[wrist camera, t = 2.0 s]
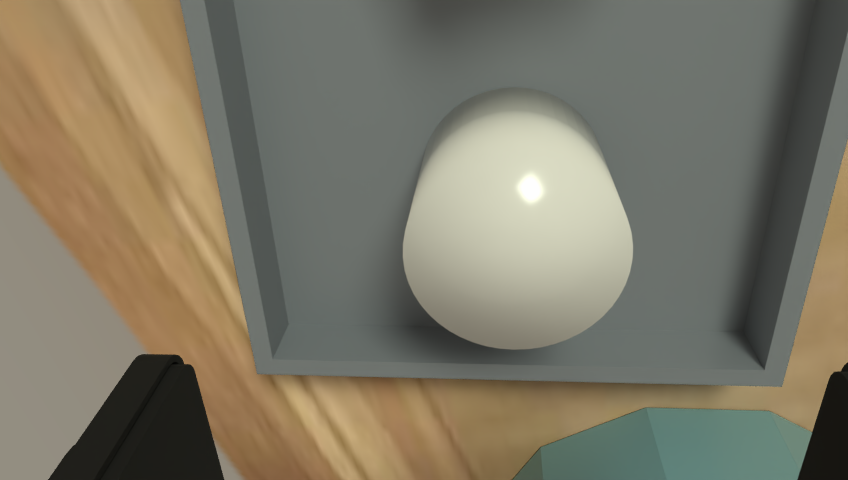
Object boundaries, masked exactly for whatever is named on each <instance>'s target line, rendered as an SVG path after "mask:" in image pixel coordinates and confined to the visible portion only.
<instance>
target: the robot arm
mask: <svg viewBox="0 0 848 480" xmlns="http://www.w3.org/2000/svg"><path fill="white" fill-rule="evenodd" d="M48 480H224V477H223V473H222V470H221V466H220V462H219V459H218V455H217V451H216V448H215V444H214V440H213V437H212V433H211V429H210V426H209V422H208V418H207V415H206V411H205V407H204V404H203V400H202V396H201V393H200V389H199V385H198V382H197V378H196V374H195V371H194V368H193V367H192V366H191V365H189V364H184V362H183V360H182V358H181V357H180V356H179V355H155V354H142V355H139V356H137V357H136V358H135V360H134V361H133V362H132V363H131V365H130V366H129V368H128V369H127V371H126V372H125V374H124V375H123V376H122V378H121V380H120V381H119V382H118V384H117V385H116V387H115V388H114V390H113V391H112V392H111V394H110V395H109V397H108V398H107V400H106V401H105V402H104V404H103V405H102V407H101V409H100V410H99V411H98V413H97V414H96V416H95V417H94V418H93V420H92V421H91V423H90V424H89V426H88V427H87V429H86V430H85V432H84V433H83V434H82V436H81V437H80V439H79V440H78V442H77V443H76V444H75V445H74V446H73V447H72V448H71V449H70V450H69V451H68V453H67V454H66V455H65V456H64V458H63V459H62V461H61V462H60V464H59V465H58V467H57V468H56V469H55V471H54V472H53V474H52V475H51V476H50V478H49V479H48ZM797 480H848V363H846V364H845V365H844V367H843V369H842V371H841V372H834V373H833V374H832V375H831V377H830V379H829V381H828V385H827V388H826V391H825V394H824V397H823V400H822V403H821V407H820V410H819V413H818V416H817V419H816V422H815V425H814V429H813V432H812V435H811V438H810V441H809V444H808V448H807V451H806V454H805V457H804V460H803V463H802V466H801V470H800V473H799V476H798V479H797Z"/></svg>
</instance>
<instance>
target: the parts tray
mask: <svg viewBox="0 0 848 480" xmlns="http://www.w3.org/2000/svg"><path fill="white" fill-rule="evenodd" d="M180 2H181V7H182V12H183V17H184V22H185V27H186V32H187V36H188V41H189V46H190V51H191V56H192V61H193V65H194V70H195V75H196V80H197V85H198V90H199V94H200V99H201V104H202V109H203V114H204V119H205V124H206V128H207V133H208V138H209V143H210V148H211V153H212V157H213V162H214V167H215V172H216V177H217V182H218V186H219V191H220V196H221V201H222V206H223V211H224V216H225V220H226V225H227V230H228V235H229V240H230V245H231V249H232V254H233V259H234V264H235V269H236V274H237V279H238V283H239V288H240V293H241V298H242V303H243V308H244V312H245V317H246V322H247V327H248V332H249V337H250V341H251V346H252V351H253V356H254V361H255V366H256V371H257V374H276V375H317V376H359V377H400V378H441V379H483V380H524V381H566V382H607V383H648V384H690V385H731V386H772V387H782V385H783V381H784V377H785V373H786V370H787V366H788V362H789V358H790V354H791V351H792V347H793V343H794V339H795V336H796V332H797V328H798V324H799V320H800V317H801V313H802V309H803V305H804V302H805V298H806V294H807V290H808V286H809V283H810V279H811V275H812V271H813V268H814V264H815V260H816V256H817V252H818V249H819V245H820V241H821V237H822V234H823V230H824V226H825V222H826V218H827V215H828V211H829V207H830V203H831V200H832V196H833V192H834V188H835V184H836V181H837V177H838V173H839V169H840V166H841V162H842V158H843V154H844V150H845V147H846V143H847V139H848V0H180ZM510 87H517V88H529V89H535V90H539V91H542V92H545V93H549V94H551V95H553V96H555V97H557V98H559V99H561V100H563V101H564V102H566V103H567V104H569V105H571V106H572V107H573V108H574V109H575V110H576V111H578V112H579V113H580V114H581V115H582V117H583V118H584V119H585V120H586V121H587V122H588V124H589V126H590V127H591V129H592V130H593V132H594V134H595V136H596V138H597V141H598V143H599V146H600V148H601V151H602V153H603V156H604V159H605V161H606V164H607V166H608V169H609V172H610V174H611V177H612V179H613V182H614V185H615V187H616V190H617V192H618V195H619V198H620V200H621V203H622V205H623V208H624V211H625V213H626V216H627V218H628V222H629V225H630V229H631V232H632V241H633V259H632V265H631V270H630V274H629V276H628V279H627V282H626V285H625V287H624V289H623V290H622V292H621V294H620V296H619V298H618V299H617V300H616V302H615V303H614V305H613V306H612V307H611V308H610V309H609V310H608V312H607V313H606V314H605V315H604V316H603V317H602V318H601V319H599V320H598V321H597V322H596V323H595V324H593V325H592V326H591V327H589V328H588V329H586V330H584V331H583V332H581V333H580V334H578V335H576V336H574V337H572V338H569V339H567V340H565V341H562V342H559V343H556V344H553V345H549V346H545V347H540V348H533V349H519V350H511V349H499V348H493V347H488V346H484V345H480V344H477V343H473V342H471V341H468V340H466V339H464V338H461V337H459V336H457V335H456V334H454V333H452V332H450V331H449V330H447V329H446V328H444V327H443V326H442V325H440V324H439V323H438V322H436V321H435V320H434V319H433V318H432V317H431V316H430V315H429V314H428V313H427V312H426V311H425V309H424V308H423V307H422V306H421V305H420V303H419V302H418V300H417V298H416V297H415V295H414V294H413V292H412V289H411V287H410V285H409V283H408V280H407V277H406V273H405V270H404V263H403V241H404V234H405V229H406V225H407V221H408V217H409V213H410V209H411V205H412V201H413V197H414V193H415V189H416V185H417V181H418V177H419V173H420V169H421V165H422V161H423V157H424V153H425V150H426V147H427V144H428V141H429V139H430V137H431V135H432V133H433V132H434V130H435V129H436V127H437V126H438V124H439V123H440V122H441V121H442V119H443V118H444V117H445V116H446V115H447V114H448V113H449V112H450V111H451V110H453V109H454V108H455V107H456V106H458V105H459V104H461V103H462V102H464V101H465V100H467V99H469V98H471V97H473V96H475V95H478V94H481V93H483V92H486V91H490V90H495V89H499V88H510Z"/></svg>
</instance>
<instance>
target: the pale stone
mask: <svg viewBox="0 0 848 480" xmlns="http://www.w3.org/2000/svg"><path fill="white" fill-rule="evenodd" d="M632 259H633V241H632V232H631V229H630V225H629V222H628V218H627V216H626V213H625V211H624V208H623V205H622V203H621V200H620V198H619V195H618V192H617V190H616V187H615V185H614V182H613V179H612V177H611V174H610V172H609V169H608V166H607V164H606V161H605V159H604V156H603V153H602V151H601V148H600V146H599V143H598V141H597V138H596V136H595V134H594V132H593V130H592V129H591V127H590V126H589V124H588V122H587V121H586V120H585V119H584V118H583V117H582V115H581V114H580V113H579V112H578V111H576V110H575V109H574V108H573V107H572V106H571V105H569V104H567V103H566V102H564V101H563V100H561V99H559V98H557V97H555V96H553V95H551V94H549V93H545V92H542V91H539V90H535V89H529V88H517V87H510V88H499V89H495V90H490V91H486V92H483V93H481V94H478V95H475V96H473V97H471V98H469V99H467V100H465V101H464V102H462V103H461V104H459V105H458V106H456V107H455V108H454V109H453V110H451V111H450V112H449V113H448V114H447V115H446V116H445V117H444V118H443V119H442V121H441V122H440V123H439V124H438V126H437V127H436V129H435V130H434V132H433V133H432V135H431V137H430V139H429V141H428V144H427V147H426V150H425V153H424V157H423V161H422V165H421V169H420V173H419V177H418V181H417V185H416V189H415V193H414V197H413V201H412V205H411V209H410V213H409V217H408V221H407V225H406V229H405V234H404V241H403V263H404V270H405V273H406V277H407V280H408V283H409V285H410V287H411V289H412V292H413V294H414V295H415V297H416V298H417V300H418V302H419V303H420V305H421V306H422V307H423V308H424V309H425V311H426V312H427V313H428V314H429V315H430V316H431V317H432V318H433V319H434V320H435V321H436V322H438V323H439V324H440V325H442V326H443V327H444V328H446V329H447V330H449V331H450V332H452V333H454V334H456V335H457V336H459V337H461V338H464V339H466V340H468V341H471V342H473V343H477V344H480V345H484V346H488V347H493V348H499V349H511V350H519V349H533V348H540V347H545V346H549V345H553V344H556V343H559V342H562V341H565V340H567V339H569V338H572V337H574V336H576V335H578V334H580V333H581V332H583V331H584V330H586V329H588V328H589V327H591V326H592V325H593V324H595V323H596V322H597V321H598V320H599V319H601V318H602V317H603V316H604V315H605V314H606V313H607V312H608V310H609V309H610V308H611V307H612V306H613V305H614V303H615V302H616V300H617V299H618V298H619V296H620V294H621V292H622V290H623V289H624V287H625V285H626V282H627V279H628V276H629V274H630V270H631V265H632Z"/></svg>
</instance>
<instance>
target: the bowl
mask: <svg viewBox="0 0 848 480" xmlns="http://www.w3.org/2000/svg"><path fill="white" fill-rule="evenodd" d="M811 435H812V432H810V431H808V430H806V429H804V428H802V427H800V426H798V425H796V424H794V423H792V422H790V421H788V420H786V419H784V418H782V417H780V416H778V415H776V414H774V413H772V412H770V411H751V410H715V409H679V408H644V409H641V410H638V411H636V412H633V413H630V414H628V415H625V416H622V417H620V418H617V419H614V420H612V421H609V422H606V423H604V424H601V425H598V426H596V427H593V428H590V429H588V430H585V431H583V432H580V433H577V434H575V435H572V436H569V437H567V438H564V439H561V440H559V441H556V442H553V443H551V444H548V445H545V446H543V447H540V449H539V450H538V451H537V452H536V453H535V454H534V456H533V457H532V458H531V459H530V460H529V461H528V462H527V464H526V465H525V466H524V467H523V468H522V469H521V470H520V472H519V473H518V474H517V475H516V476H515V477H514V478H513V480H797V479H798V476H799V473H800V470H801V466H802V463H803V460H804V457H805V454H806V451H807V448H808V444H809V441H810V438H811Z"/></svg>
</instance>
